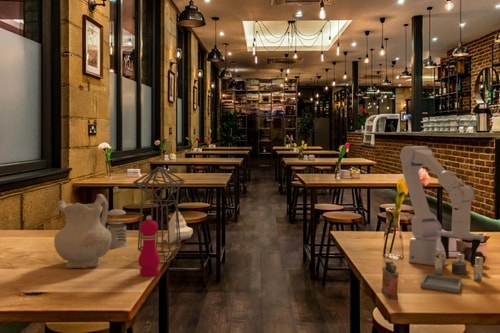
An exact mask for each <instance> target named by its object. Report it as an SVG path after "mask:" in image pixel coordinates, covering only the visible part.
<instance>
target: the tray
mask: <svg viewBox="0 0 500 333" xmlns="http://www.w3.org/2000/svg"><path fill="white" fill-rule="evenodd" d="M461 287H462V278H460V277H457V278H456V277H451V276H445V275H444V276H443V275H442V276H438V275H435V274H430V273H425V274H424V276H423V278H422V280H421V282H420V289H425V290H432V291H433V290H434V291H438V292H444V293H445V292H446V293H450V294H451V293H452V294H458V295H460V292H461V291H460V290H461Z"/></svg>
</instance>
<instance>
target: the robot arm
mask: <svg viewBox="0 0 500 333" xmlns="http://www.w3.org/2000/svg"><path fill="white" fill-rule="evenodd" d="M399 160H400V163H401V165H402V174H403V177H404V178H403V179H404V181H405V184H406V187H407V192H408V195H409V198H410V202H411V205H412V208H413V213H414V216H413V217H412V219H411V220H410V222H411V233H412V235H413V236H414V237H410V239H409V248H408V249H409V251H408V252H409V253H408V263H413V264H420V265H427V266H435V260H438V259H439V258H438V259H437V242H438V239H439V238H440V243H441V244H442V247H443V250H444V253H446V260H448V259H450V251H449V248H450V239H455V240H456V239H457V240H467V241H471V247H472V254H471V262H473V258H474V255H475V252H476V251H477V250H478V248H479V246H480V245H481V243H482V242H483V243H484V242H485V235H484V234H477V233H471V211H472V210H471V209H472V202H473V201H474V199H475V198H476V192H475V189H474V188H473V187H472V185H469V184H465V182H463V181H462V180H461V179H460V178H458V177H457V175H456V173H455V172H454V171H451V170H446V169H445V168H444V167H443V165H441V163H440V162H439V161H438V160H437V159H436V157H435V156H434V155H433V150H431V149H430V147H428V146H426V145H421V146H420V145H416V146H413V145H412V146H410V145H406V146H403V148H402V149H401V151H400V154H399ZM424 166H425V167H427V169H429V170H430V171H431V172H432V173H433V174H434V175H435V176H437V182H438V184H440V186H442V188H443V189H444V190H445V191H446V192H447V193H448V197H449V200H450V202H451V203H450V204H451V205H450V206H451V207H452V212H451V231H449V230H448V231H447V230H446V231H444V230H443V226H442V224H441V223H440V221H439V220H438V218H437V217H438V216H437V215H436V214H434V213H433V212H432V211H431V210H430V207H429V202H428V200H427V197H426V194H425V190H424V186H423V184H422V180H421V177H420V174H419V173H420V170H421V169H422V168H424Z"/></svg>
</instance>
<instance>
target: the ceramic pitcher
mask: <svg viewBox="0 0 500 333" xmlns="http://www.w3.org/2000/svg"><path fill="white" fill-rule="evenodd" d="M57 204H58V209H59V211H61V212H64V215H65V221H66V223H65V225H64V226H63V228H61V229H59V231H58V232H56V233H55V235H54V238H53V239H54V248H55V251H56V253H57V254H58V256H59V257H61V259H62V260H64V261H67V263H66V264H65V265H64V268H66V269H71V268H72V269H73V268H75V269H76V268H77V269H78V268H79V269H88V268H89V269H90V268H94V267H99V265H100V264H101V261H100V260H99V258H103V257H104V256H105V255H106V254H107V253H108V251H109V249H111V248H110V246H111V240H112V236H111V233H110V231H109V230H108V229H107V227H106V228H105V224H106V222H107V220H108V215H107V214H108V212H109V203H108V200H107V198H106V197H105V194H102V193H98V194H96V199H95V201H94V203H85V204H84V203H80V202H76V203H71V202H70V203H66V202H65V200H63V199H62V200H59V201H57ZM101 213H102V214H101Z"/></svg>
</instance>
